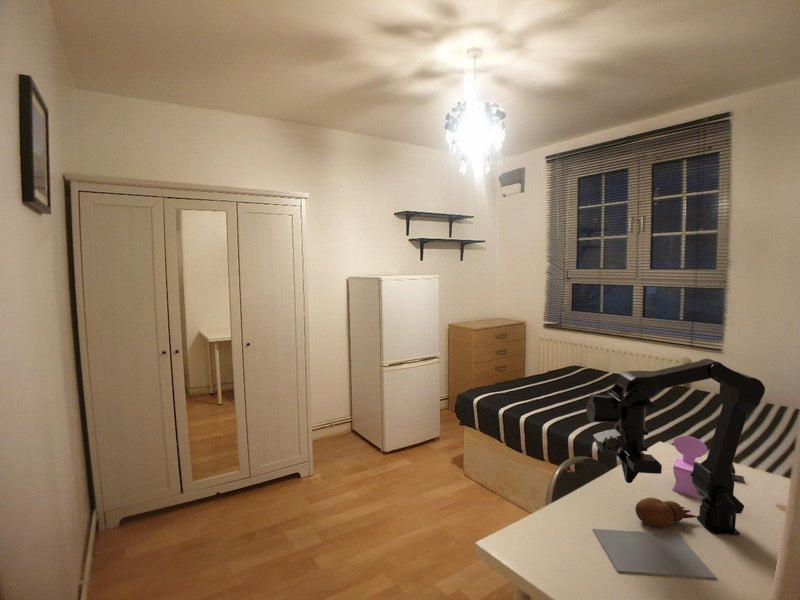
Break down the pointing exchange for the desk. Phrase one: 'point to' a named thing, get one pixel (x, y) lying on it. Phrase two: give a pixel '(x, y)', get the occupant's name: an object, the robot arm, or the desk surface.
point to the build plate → (737, 476)
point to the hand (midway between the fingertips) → (628, 482)
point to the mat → (651, 554)
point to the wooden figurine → (660, 512)
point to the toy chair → (687, 463)
